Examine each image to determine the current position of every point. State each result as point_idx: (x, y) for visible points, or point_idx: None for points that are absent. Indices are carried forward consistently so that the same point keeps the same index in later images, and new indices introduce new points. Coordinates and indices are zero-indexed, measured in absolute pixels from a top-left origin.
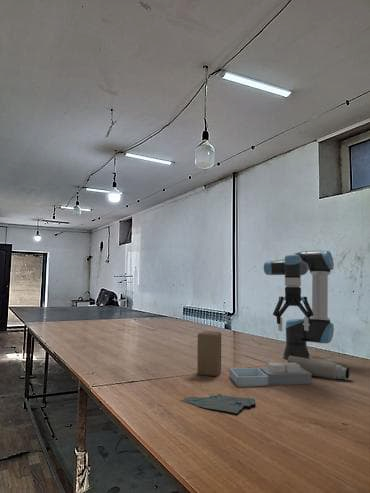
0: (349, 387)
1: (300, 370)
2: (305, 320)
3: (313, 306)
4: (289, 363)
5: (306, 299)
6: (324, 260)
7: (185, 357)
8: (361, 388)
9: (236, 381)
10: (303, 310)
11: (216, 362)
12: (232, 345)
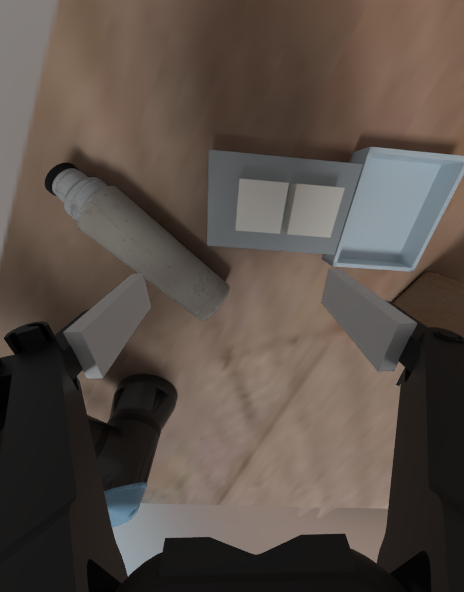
0: (100, 85)
1: (226, 203)
2: (112, 333)
3: None
4: (263, 216)
5: None
6: None
7: (379, 416)
8: (60, 61)
9: (446, 175)
10: (64, 412)
11: (461, 284)
12: (239, 477)
